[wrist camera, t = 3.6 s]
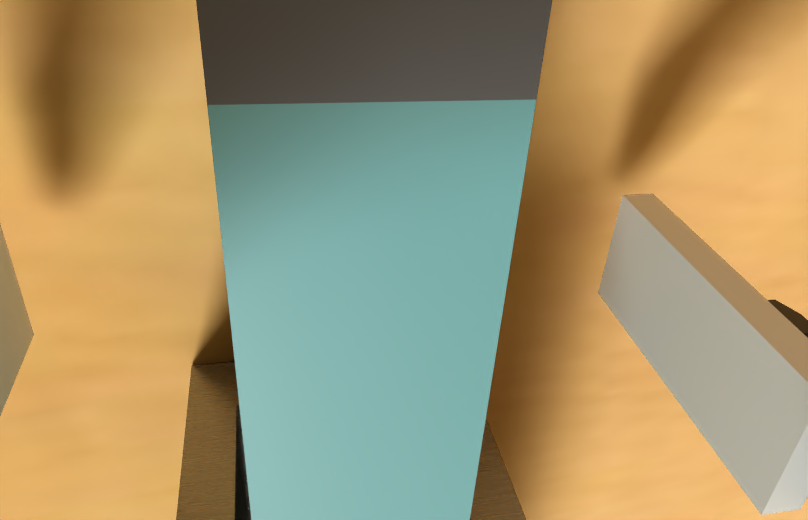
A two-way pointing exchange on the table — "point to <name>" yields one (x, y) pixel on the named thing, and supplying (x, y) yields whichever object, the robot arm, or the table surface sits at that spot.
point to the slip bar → (367, 239)
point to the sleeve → (226, 469)
